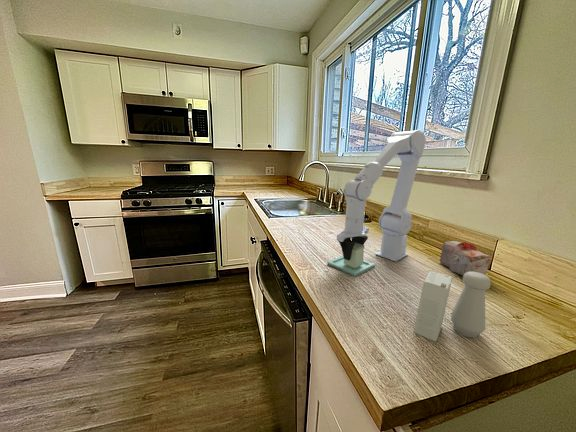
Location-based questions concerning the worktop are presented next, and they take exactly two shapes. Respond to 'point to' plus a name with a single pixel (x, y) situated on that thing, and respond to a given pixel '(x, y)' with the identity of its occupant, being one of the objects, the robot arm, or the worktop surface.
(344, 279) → the worktop surface
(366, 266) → the tray
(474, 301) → the salt shaker
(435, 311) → the skincare box
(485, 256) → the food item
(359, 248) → the tea tin
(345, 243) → the robot arm
